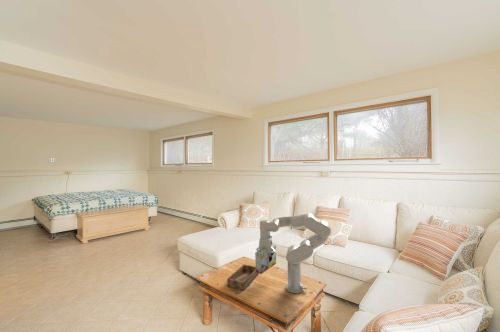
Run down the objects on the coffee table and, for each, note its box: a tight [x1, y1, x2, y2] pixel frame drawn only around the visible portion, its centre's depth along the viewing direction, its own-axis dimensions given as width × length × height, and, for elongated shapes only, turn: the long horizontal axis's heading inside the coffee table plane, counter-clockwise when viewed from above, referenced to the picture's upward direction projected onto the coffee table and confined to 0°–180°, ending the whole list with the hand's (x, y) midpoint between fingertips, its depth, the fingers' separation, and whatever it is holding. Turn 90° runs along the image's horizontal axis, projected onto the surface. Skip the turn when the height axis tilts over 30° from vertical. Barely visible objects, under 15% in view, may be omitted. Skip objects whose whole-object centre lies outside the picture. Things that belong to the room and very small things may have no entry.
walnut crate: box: [227, 264, 260, 292], centre depth 186 cm, size 14×27×6 cm, turn 154°
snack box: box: [254, 244, 277, 275], centre depth 178 cm, size 21×6×15 cm, turn 143°
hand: (266, 260), depth 178 cm, fingers closed on snack box, 6 cm apart
